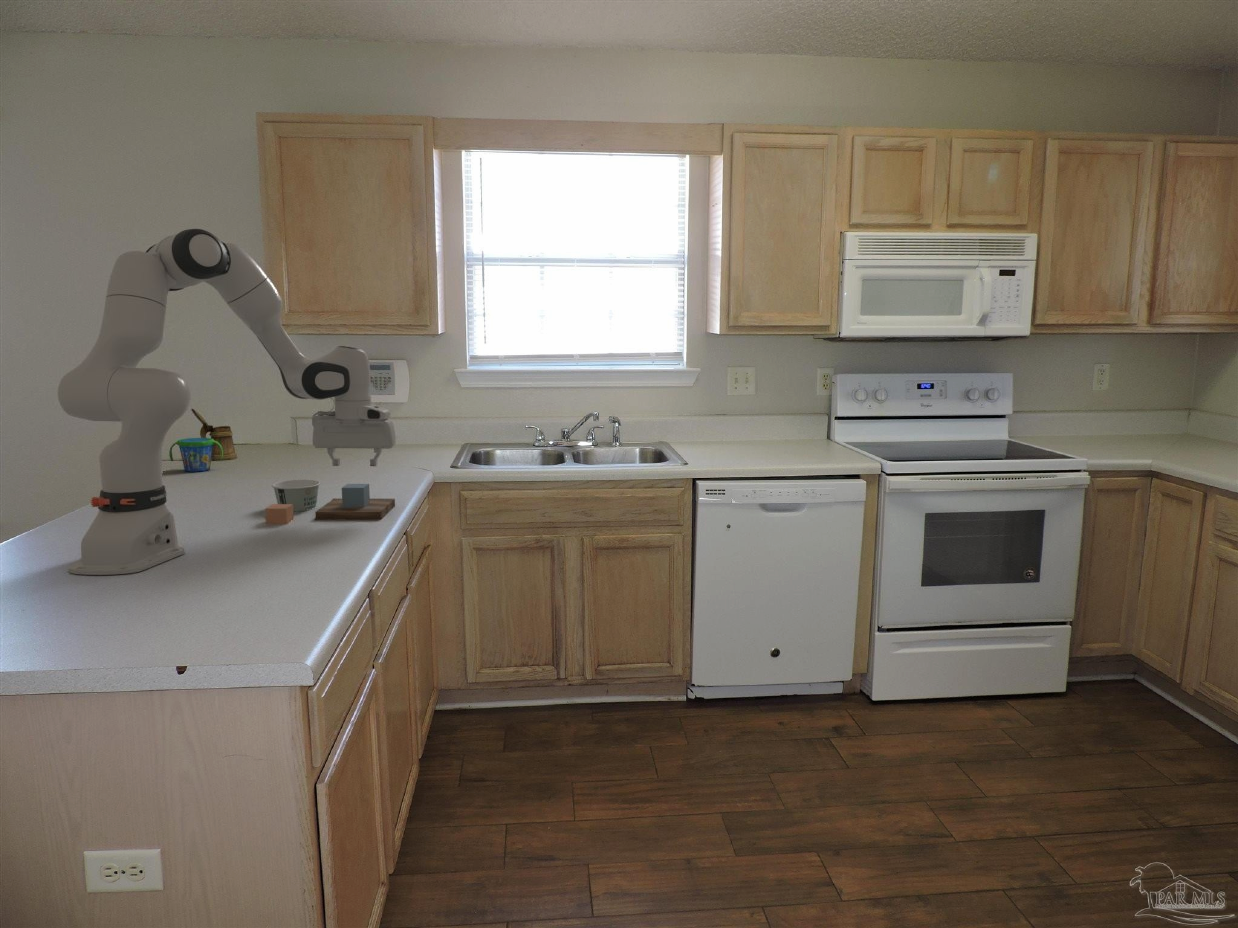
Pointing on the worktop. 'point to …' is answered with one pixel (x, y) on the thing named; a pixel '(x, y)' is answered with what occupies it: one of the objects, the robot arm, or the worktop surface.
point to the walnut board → (355, 510)
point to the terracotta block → (279, 513)
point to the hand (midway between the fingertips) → (355, 465)
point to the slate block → (355, 495)
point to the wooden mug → (218, 439)
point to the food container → (297, 493)
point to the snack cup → (196, 453)
